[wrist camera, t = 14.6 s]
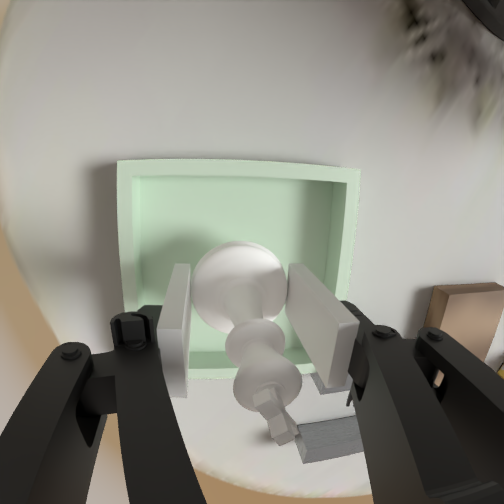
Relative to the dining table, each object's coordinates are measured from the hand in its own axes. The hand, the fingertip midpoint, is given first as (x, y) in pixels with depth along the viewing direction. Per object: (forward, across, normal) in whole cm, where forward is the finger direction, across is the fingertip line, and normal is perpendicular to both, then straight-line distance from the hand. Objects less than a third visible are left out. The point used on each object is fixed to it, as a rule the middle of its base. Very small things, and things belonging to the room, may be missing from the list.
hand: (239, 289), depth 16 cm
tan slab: (+4, +20, -8) cm, 22 cm away
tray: (+3, 0, 0) cm, 3 cm away
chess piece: (+1, 0, 0) cm, 1 cm away
